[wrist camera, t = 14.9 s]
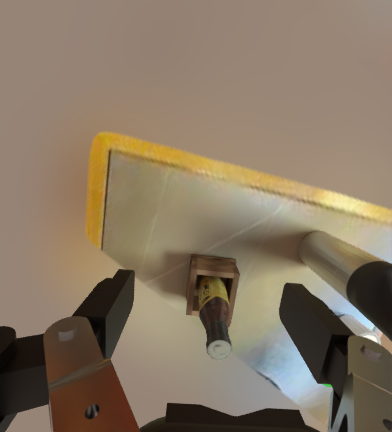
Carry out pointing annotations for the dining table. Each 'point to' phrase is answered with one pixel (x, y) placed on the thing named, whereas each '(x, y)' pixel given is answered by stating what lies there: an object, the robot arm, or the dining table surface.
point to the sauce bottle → (215, 316)
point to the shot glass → (359, 328)
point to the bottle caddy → (211, 268)
